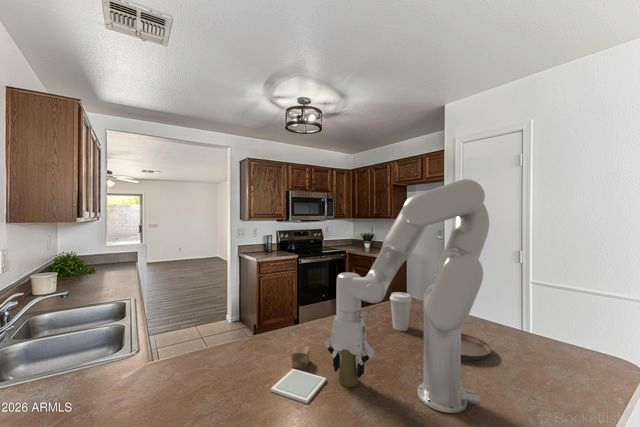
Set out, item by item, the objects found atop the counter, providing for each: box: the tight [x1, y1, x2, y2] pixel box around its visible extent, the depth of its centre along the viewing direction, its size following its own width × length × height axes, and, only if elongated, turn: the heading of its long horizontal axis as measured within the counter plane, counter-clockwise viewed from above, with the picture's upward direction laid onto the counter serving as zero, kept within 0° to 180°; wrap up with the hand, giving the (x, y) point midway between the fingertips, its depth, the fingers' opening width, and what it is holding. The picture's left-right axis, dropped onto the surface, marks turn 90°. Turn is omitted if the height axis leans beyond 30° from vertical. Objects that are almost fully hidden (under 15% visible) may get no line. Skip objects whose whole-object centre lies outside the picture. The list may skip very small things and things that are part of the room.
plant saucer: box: [461, 332, 492, 362], centre depth 109 cm, size 21×21×3 cm
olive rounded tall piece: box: [338, 349, 359, 388], centre depth 88 cm, size 6×6×11 cm
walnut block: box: [291, 345, 310, 369], centre depth 98 cm, size 5×5×5 cm
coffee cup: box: [389, 291, 412, 332], centre depth 129 cm, size 10×10×15 cm
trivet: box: [270, 368, 327, 405], centre depth 86 cm, size 12×12×1 cm
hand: (348, 372), depth 88 cm, fingers open, 6 cm apart
